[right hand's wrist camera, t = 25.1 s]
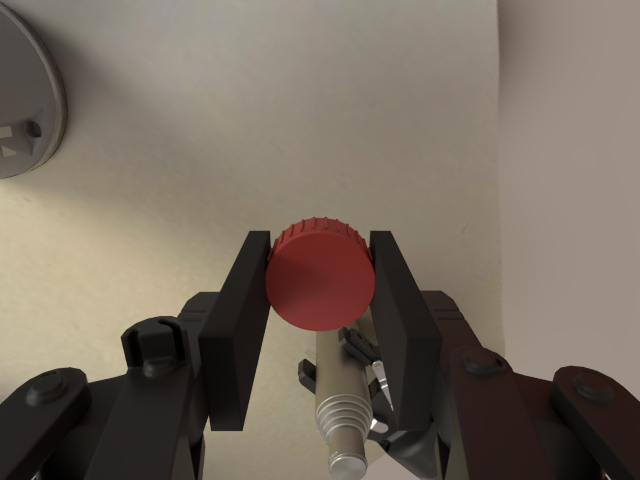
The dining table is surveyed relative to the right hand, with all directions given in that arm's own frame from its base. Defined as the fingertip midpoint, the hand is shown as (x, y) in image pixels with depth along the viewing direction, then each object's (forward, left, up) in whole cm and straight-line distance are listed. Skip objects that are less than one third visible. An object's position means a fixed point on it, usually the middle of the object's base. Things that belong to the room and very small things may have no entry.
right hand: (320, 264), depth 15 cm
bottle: (-3, -19, -22) cm, 29 cm away
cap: (0, 0, +1) cm, 1 cm away
